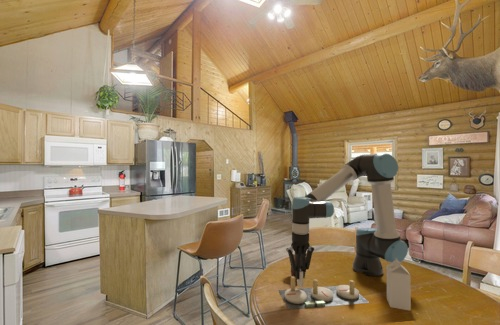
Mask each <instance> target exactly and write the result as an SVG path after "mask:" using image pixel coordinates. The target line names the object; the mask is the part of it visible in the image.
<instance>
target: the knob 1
mask: <svg viewBox="0 0 500 325" xmlns="http://www.w3.org/2000/svg"><path fill="white" fill-rule="evenodd" d="M300 289H301V288H296V277H294V276H291V275H290V288H288V289H285V290H286V291H285V299H286V300H287V301H288V302H290V303H294V304H302V303H304V302H306V300H307V295H306V293H305V292H304V291H302V290H300Z"/></svg>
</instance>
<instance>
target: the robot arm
mask: <svg viewBox="0 0 500 325" xmlns="http://www.w3.org/2000/svg"><path fill="white" fill-rule="evenodd" d="M341 167H342V168H341V169H340V170H339V171H338V172H336V173H334V175H332V176H330V177H329V178H328V179H326V180H325V181H324V182H323V183H321V184H320V185H319V186H317V187H315V189H313V190H312V191H310V192H309V193H308V194H306V195H305V196H295V197H294V198H292V202H291V203H292V204H291V231H292V232H291V244H290V247H287V248H286V249H285V250H286V253H288V257H289V263H290V269H291V268H292V269H293V270H294V271H296V277H295V279H296V285H297V286H298V287H299V288H304V279H305V277H306V272H307V270H309V269H310V265H311V260H312V257H313V252H314V251H315V247H313V246H311V245H310V243H309V242H310V219H321V218H322V219H327V218H332V217H333V216H334V213H335V207H334V204H333V202H331V201H329V200H328V198H330V197H331V196H332V195H334V194H335V193H337V192H338V191H339V190H340V189H342V188H344V186H346V185H347V184H349V183H350V182H351V181H356V180H357V179H359V178H361V177H366V179H367V182H368V183H369V184H370V186H371V193H372V194H371V195H372V201H373V211H374V218H375V227H373V228H372V227H361V228H357V229H356V232H355V233H356V234H355V252H356V253H355V257H354V259H353V261H352V269H353V270H354V271H355V272H357V273H362V274H364V276H371V277H380V276H382V275H383V274H384V269H383V268H384V267H383V265H382V262H381V260H380V259H382V260H385V261H386V262H388V263H391V262H393V261H395V260H396V258H397V259H398V261H399V262H400V263H402V262H403V261H404V260H405V258H406V257H407V256H408V250H409V248H408V244H407V243H406V242H405V241H403V240H402V238H401V233H400V232H399V231H397V227H396V219H395V217H396V216H395V209H394V201H393V192H392V183H393V181H394V180H395V178H394V177H396V176H397V174H398V172H399V163H398V161H397V159H396V158H395V157H394V156H393V155H392V154H390V153H383V152H382V153H379V152H378V153H366V154H364V153H363V154H360V155H359V156H357V157H356V156H355V157H354V158H352V159H351V160H349V161H348V162H346V163H345V164H344V165H343V166H341ZM293 254H295V261H294V256H293ZM305 256H306V259H305ZM300 269H301V270H300ZM379 275H380V276H379Z"/></svg>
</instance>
